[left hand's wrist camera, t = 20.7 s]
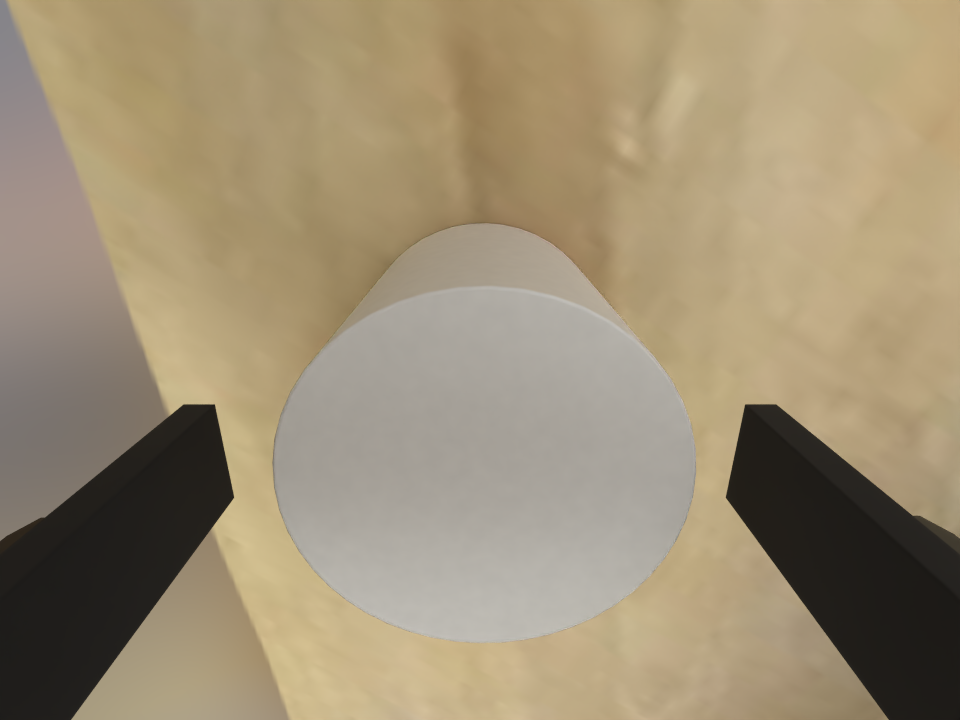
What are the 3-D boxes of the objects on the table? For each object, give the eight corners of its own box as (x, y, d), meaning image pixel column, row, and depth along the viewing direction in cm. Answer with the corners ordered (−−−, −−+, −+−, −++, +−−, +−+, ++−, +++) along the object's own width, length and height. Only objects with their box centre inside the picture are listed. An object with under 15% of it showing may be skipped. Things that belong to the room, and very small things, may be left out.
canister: (602, 434, 21) (687, 630, 12) (387, 454, 21) (323, 657, 13) (598, 209, 18) (710, 261, 9) (343, 237, 18) (216, 312, 9)
